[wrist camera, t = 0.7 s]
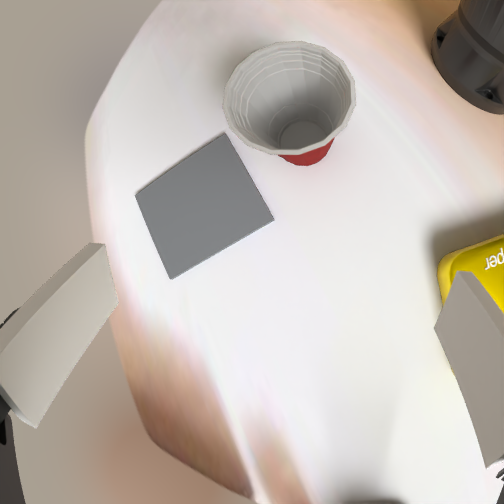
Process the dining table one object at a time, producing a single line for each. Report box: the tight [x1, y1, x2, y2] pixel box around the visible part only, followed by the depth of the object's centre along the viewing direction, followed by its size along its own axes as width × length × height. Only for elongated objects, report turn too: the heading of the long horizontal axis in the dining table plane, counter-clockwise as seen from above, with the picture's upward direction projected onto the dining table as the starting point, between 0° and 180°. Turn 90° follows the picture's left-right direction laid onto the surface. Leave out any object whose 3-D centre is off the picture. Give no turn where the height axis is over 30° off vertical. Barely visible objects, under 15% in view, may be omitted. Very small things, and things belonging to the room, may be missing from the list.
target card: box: [135, 134, 274, 279], centre depth 35 cm, size 14×12×1 cm
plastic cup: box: [223, 41, 356, 166], centre depth 27 cm, size 11×11×12 cm
